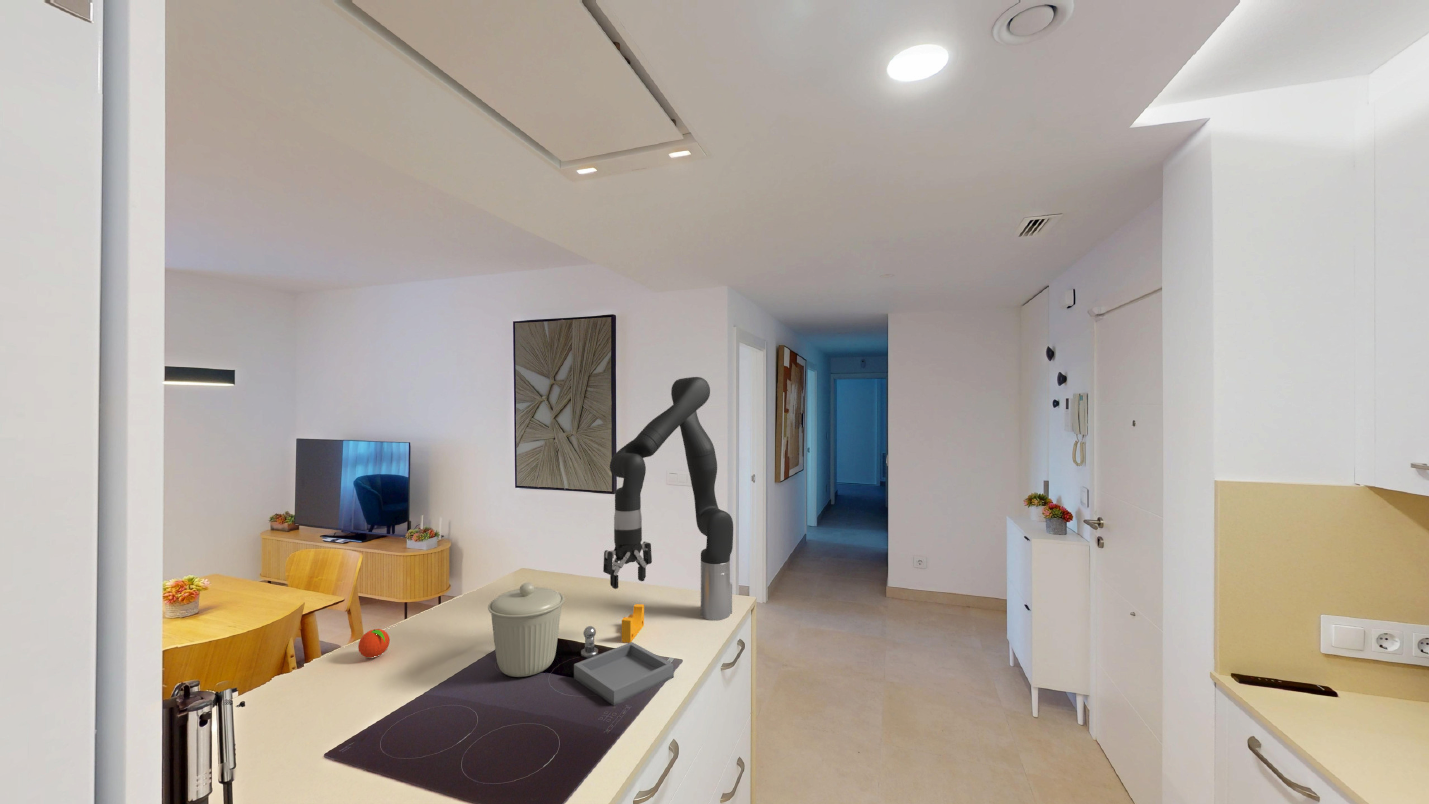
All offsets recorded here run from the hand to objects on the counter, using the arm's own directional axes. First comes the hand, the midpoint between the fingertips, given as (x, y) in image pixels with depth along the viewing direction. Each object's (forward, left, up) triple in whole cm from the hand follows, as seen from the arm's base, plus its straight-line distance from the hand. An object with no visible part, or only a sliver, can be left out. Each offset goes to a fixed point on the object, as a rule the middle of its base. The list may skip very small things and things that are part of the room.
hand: (628, 584), depth 146 cm
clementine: (+51, -41, -17) cm, 68 cm away
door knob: (+10, -3, -17) cm, 20 cm away
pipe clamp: (-5, -6, -17) cm, 18 cm away
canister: (+25, -8, -17) cm, 31 cm away
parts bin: (+11, +14, -17) cm, 25 cm away
